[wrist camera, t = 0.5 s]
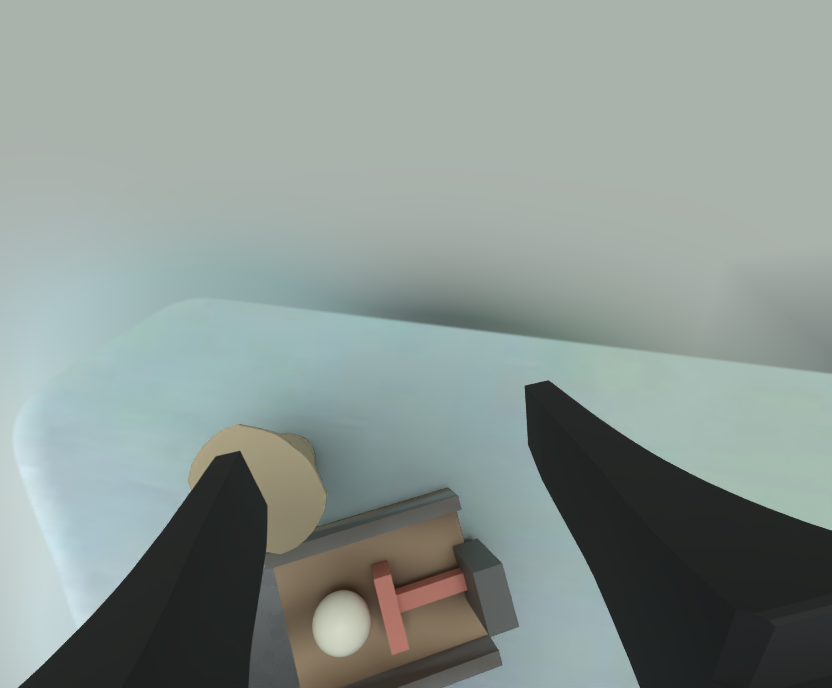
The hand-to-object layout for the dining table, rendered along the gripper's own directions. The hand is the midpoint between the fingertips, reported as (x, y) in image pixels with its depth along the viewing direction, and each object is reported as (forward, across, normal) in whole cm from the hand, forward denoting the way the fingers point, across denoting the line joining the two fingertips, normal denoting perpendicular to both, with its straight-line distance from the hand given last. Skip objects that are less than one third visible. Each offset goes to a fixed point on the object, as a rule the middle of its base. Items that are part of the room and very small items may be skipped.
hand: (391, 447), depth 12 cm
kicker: (+12, +1, +26) cm, 29 cm away
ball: (+10, +7, +24) cm, 27 cm away
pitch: (+13, +5, +26) cm, 30 cm away
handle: (+20, +9, +17) cm, 27 cm away
